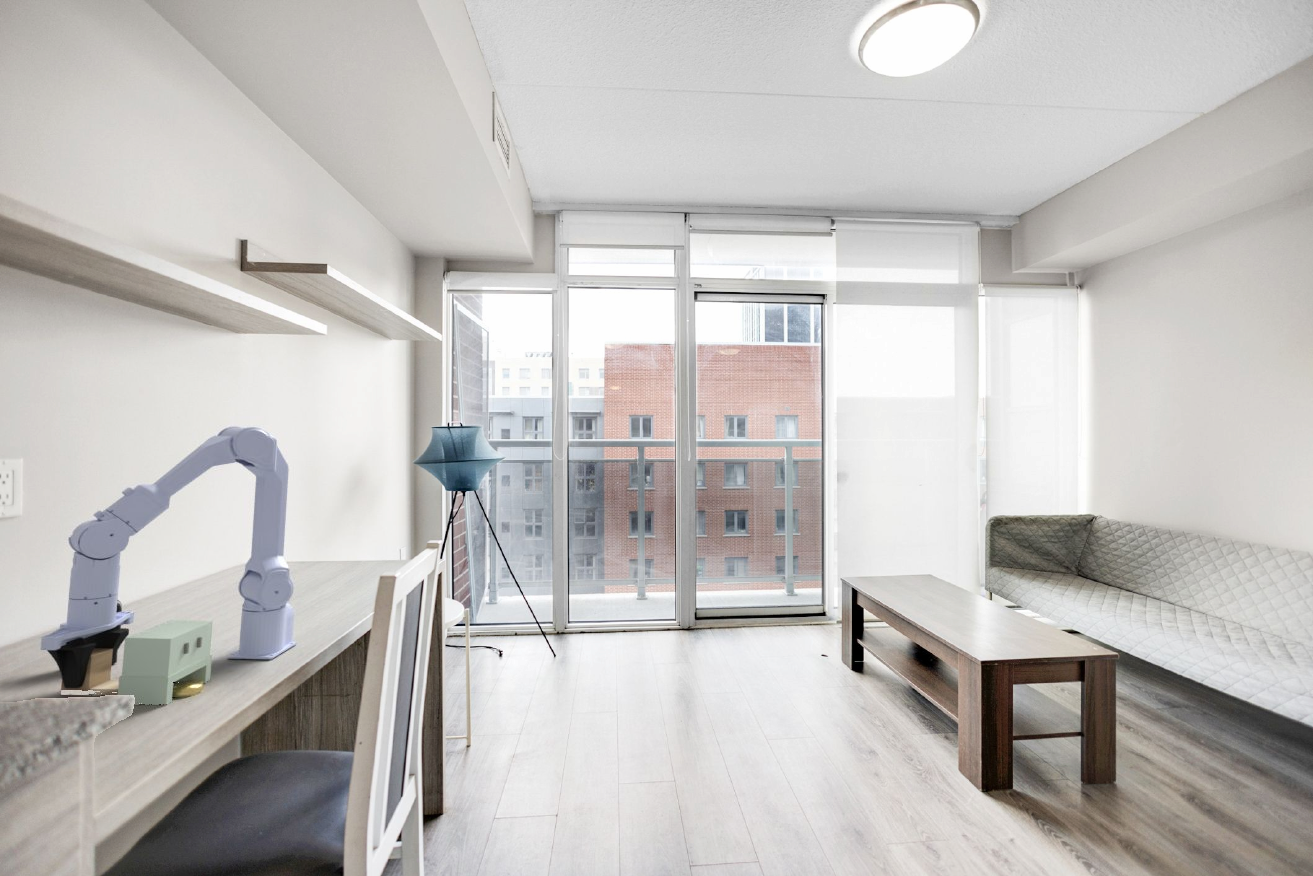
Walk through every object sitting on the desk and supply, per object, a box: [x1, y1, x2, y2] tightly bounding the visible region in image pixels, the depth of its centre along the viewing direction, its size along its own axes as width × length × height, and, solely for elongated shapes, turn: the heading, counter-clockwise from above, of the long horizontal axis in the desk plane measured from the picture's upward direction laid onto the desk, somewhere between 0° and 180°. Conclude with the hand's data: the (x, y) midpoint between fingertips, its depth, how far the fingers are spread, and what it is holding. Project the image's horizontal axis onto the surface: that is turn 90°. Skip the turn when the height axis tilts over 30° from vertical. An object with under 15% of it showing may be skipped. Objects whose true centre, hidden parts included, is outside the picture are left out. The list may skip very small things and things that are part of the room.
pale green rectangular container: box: [118, 619, 213, 706], centre depth 94 cm, size 7×10×10 cm
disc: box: [172, 680, 205, 698], centre depth 94 cm, size 4×4×1 cm
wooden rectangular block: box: [60, 648, 119, 697], centre depth 94 cm, size 14×4×6 cm, turn 95°
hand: (86, 681), depth 93 cm, fingers closed on wooden rectangular block, 4 cm apart
